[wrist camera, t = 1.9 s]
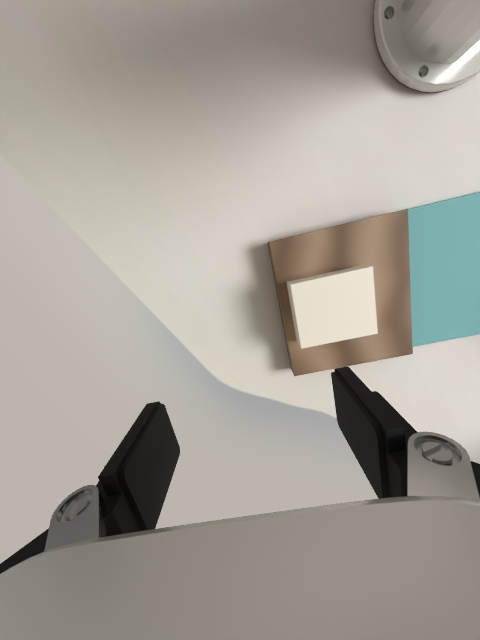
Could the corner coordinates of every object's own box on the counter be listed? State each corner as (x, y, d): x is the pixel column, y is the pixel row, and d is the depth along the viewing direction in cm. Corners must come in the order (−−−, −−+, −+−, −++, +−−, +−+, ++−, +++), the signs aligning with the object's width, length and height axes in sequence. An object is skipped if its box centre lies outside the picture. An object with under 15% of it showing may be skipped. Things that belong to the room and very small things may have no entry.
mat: (561, 173, 24) (566, 171, 23) (542, 320, 28) (547, 321, 27) (390, 213, 25) (392, 213, 25) (397, 348, 29) (399, 349, 29)
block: (360, 265, 24) (372, 266, 22) (366, 326, 26) (377, 333, 24) (286, 281, 25) (290, 284, 23) (296, 340, 27) (301, 348, 25)
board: (395, 212, 25) (407, 208, 23) (401, 347, 29) (412, 353, 27) (267, 242, 26) (269, 241, 24) (291, 368, 30) (294, 376, 28)
